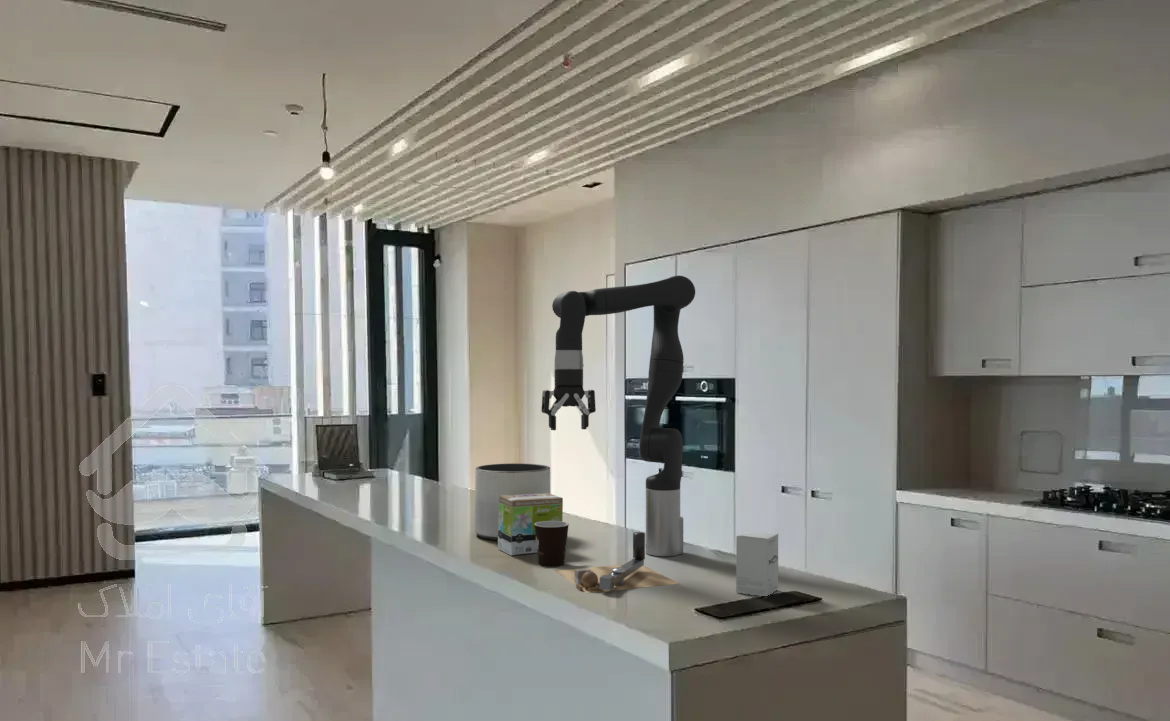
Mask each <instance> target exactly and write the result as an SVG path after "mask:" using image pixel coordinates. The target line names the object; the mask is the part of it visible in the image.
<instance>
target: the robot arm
mask: <svg viewBox="0 0 1170 721" xmlns="http://www.w3.org/2000/svg"><path fill="white" fill-rule="evenodd" d="M695 296H696V287H695V284H694V283H693V282H692V280H691V279H690V278H688V277H686V276H684V275H673V276H671V277H667V278H664V279H661V280H657V281H653V282H649V283H648V282H647V283H642V284H635V285H627V286H626V285H625V286H613V287H603V288H596V289H590V290H587V291H579V292H578V291H577V290H570V291H569V290H568V291H566V292H562V293H559V294H558V295H556V297H555V298H554V299H553V301H552V304H551V306H552V307H551V308H552V311H553V313H554V315H556V317H558V318H559V319H560V320H559V321H560V322H559V328H558V329H557V330H556V333H555V353H554V388H553V390H549V389H544V390H542V395H541V410H540V411H541V413H543V414H546V415H548V428H550V430H551V431H556V430H557V416H556V413H558V411H559V410H560V409H561V408H562V407H565V408H566V407H576V408H577V409H578V410H579V412H580V413H581V415H580V419H581V420H580V421H581V423H580V424H581V425H580V426H581V427H580V429H581V430H587V428H589V422H590V421H589V417H590V414H593V413H596V411H597V409H596V392H595V390H594V389H587V390H585V389H584V365H585V364H584V357H583V356H584V355H583V331H584V326H585V320H586V317H587V316H601V315H603V316H604V315H612V314H620V313H624V312H629V311H632V310H633V311H634V310H637V309H640V308H645V307H653V329H652V337H651V339H652V340H651V348H650V349H651V350H650V356H649V366H648V379H647V380H648V381H647V391H646V399H645V400H646V401H645V407H644V413H643V419H642V424H641V429H640V436H639V443H638V444H639V446H638V448H639V454H640V458H641V459H642V461H645V462H647V463H660V464H662V463H663V467H662V468H663V469H662V470H661V471H660V472H658V473H655V474H652V475H649V476H648V477H646V478H645V554H647V555H650V556H656V557H673V556H678V555H680V554H681V555H682V554H684V517H683V516H681V483H682V482H681V481H682V475H683V472H682V471H683V455H684V454H683V452H684V443H683V442H684V441H683V435H682V433H681V432H680V431H679V429H677V428H670V427H669V428H667V427H665V428H664V427H660V423H661V418H662V417H663V416H662V414H663V412H664V411H665V408H666V407H667V406H668V404H669V402H670V401H671V399H672V398H673V397H674V396H675V394H676V393H677V391H678V390H679V388H680V387H681V384H682V382H683V381H682V380H683V373H684V352H683V347H682V344H681V341H680V338H679V322H680V320H679V319H680V314H681V310H682V309H685V308H686V307H688V306H689V305H690V304H691V303H692V302H693V301H694V299H695ZM584 396H585V398H586V399H587V407H586V404H585V403H584V402H583V398H584ZM552 397H553V398H554V399H555V401H554V402H553V403H552V405H551V407H550V400H551V399H552Z"/></svg>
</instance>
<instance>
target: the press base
mask: <svg viewBox="0 0 1170 721" xmlns="http://www.w3.org/2000/svg"><path fill="white" fill-rule="evenodd" d="M623 565H624V564H617V565H616V564H615V565H604V566H594V567H593V566H590V567H582V568H581V567H580V568H571V569H570V568H569V569H568V568H567V569H559V570H554V571H555V572H556V573H557V574H559V575H560V576H561V577H563V578H564V579H566V580H567V581H569V582H570V583H571V584H573V585H574V586H575V588H576V589H577V590H578V591H580V592H581V591H583V592H585V593H586V594H592V593H602V592H603V593H605V592H613V591H621V590H632V589H642V588H652V587H660V586H661V587H662V586H669V585H670V586H671V585H672V586H673V585H679V584H680V583H679V582H677V581H675V580H673V579H672V578H669V577H667V576H665V575H664V574H661V573H660V572H658V571H655V570H653V569H652V568H650V567H648V566H646V565H645V564H644V565H643V566H642V567H640V568H639V569H637V570H636V571H634V572H633V573H631V574H630V575H628V576H627V577H625V578H624V579H622V580H621V581H619V582H618V583H616V584H615V585H614V588H612V589H611V590H605V589H600V577H601V576H603V575H608V574H610V573H611V568H615V567H621V566H623ZM588 571H592V572H594V573H595V574H596V575H597V577H598V583H597V585H596V586H595V587H588V588H586V587H585V586H584V585H583V584H582V576H583V574H584V573H586V572H588Z"/></svg>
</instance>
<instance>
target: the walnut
mask: <svg viewBox="0 0 1170 721" xmlns="http://www.w3.org/2000/svg"><path fill="white" fill-rule="evenodd" d="M597 583H598V577H597V575H596V574H595V573H594V572H592V571H588V572H586V573H584V574H583V576H582V584H583V585H584V586H585V587H586V588H588V587H595V586H596V585H597Z"/></svg>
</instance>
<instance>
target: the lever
mask: <svg viewBox="0 0 1170 721" xmlns="http://www.w3.org/2000/svg"><path fill="white" fill-rule="evenodd" d="M645 560H646V532H643V531H642V532H641V531H636V532H632V559H630V560H628V561H627V562H625V563H624V564H622V565H623V566H621V567H615V568H611V573H610V574H608V575H603V576H601V577H600V589H605V590H611V589H612V588H614V585H615V584H616V583H618V582H619V581H621V580H622V579H624V578H625V577H627V576H628V575H630V574H631V573H633V572H634V571H636V570H637V569H639V568H640V567H642V566H643V565H644V566H645Z"/></svg>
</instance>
